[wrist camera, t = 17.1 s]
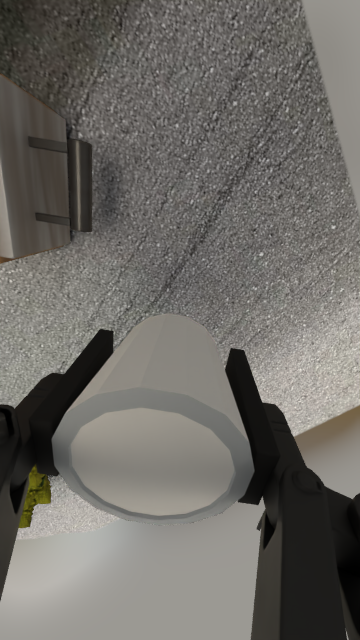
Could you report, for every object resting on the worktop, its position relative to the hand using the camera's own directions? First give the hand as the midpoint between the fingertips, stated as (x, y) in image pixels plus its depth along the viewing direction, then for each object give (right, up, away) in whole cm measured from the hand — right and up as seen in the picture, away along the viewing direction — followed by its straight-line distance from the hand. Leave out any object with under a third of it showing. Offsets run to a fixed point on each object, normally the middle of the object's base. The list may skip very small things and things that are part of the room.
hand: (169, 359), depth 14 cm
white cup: (0, 0, 0) cm, 1 cm away
